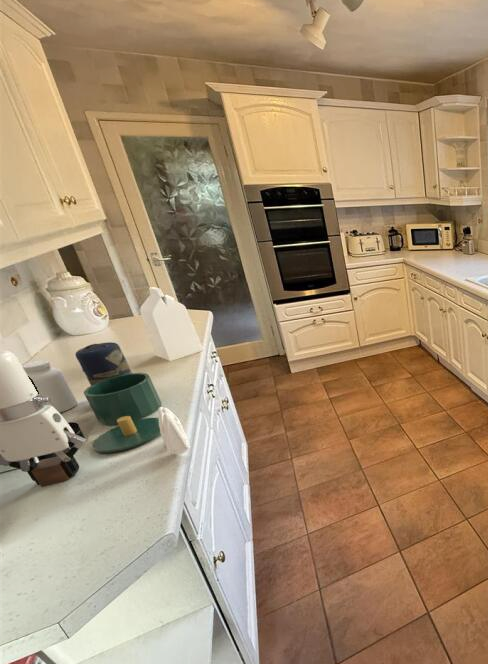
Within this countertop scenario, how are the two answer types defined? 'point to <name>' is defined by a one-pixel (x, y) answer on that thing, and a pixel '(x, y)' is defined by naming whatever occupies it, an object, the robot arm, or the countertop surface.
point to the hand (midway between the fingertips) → (58, 476)
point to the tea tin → (123, 398)
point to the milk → (169, 326)
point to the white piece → (172, 432)
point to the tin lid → (127, 434)
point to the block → (50, 471)
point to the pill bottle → (51, 384)
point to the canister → (102, 362)
